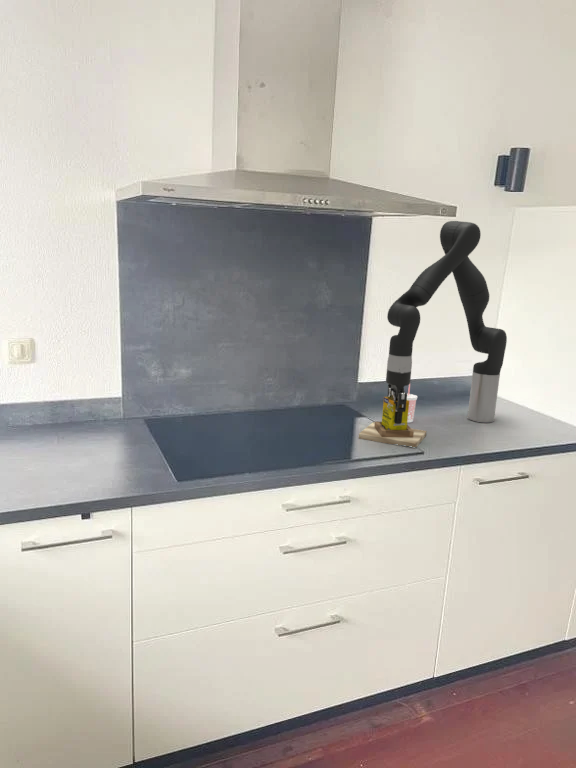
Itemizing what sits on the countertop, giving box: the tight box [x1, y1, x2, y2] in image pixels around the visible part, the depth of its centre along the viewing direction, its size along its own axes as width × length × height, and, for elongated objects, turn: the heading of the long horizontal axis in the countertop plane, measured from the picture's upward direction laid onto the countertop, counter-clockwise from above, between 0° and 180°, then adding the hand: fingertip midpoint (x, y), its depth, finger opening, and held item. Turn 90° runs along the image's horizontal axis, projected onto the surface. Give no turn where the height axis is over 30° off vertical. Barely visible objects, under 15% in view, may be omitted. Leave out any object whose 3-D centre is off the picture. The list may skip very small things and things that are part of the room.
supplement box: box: [381, 396, 409, 430], centre depth 187 cm, size 6×6×11 cm
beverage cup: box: [407, 383, 418, 423], centre depth 206 cm, size 6×6×14 cm
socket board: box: [358, 421, 427, 448], centre depth 188 cm, size 15×18×4 cm
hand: (394, 419), depth 187 cm, fingers closed on supplement box, 7 cm apart
